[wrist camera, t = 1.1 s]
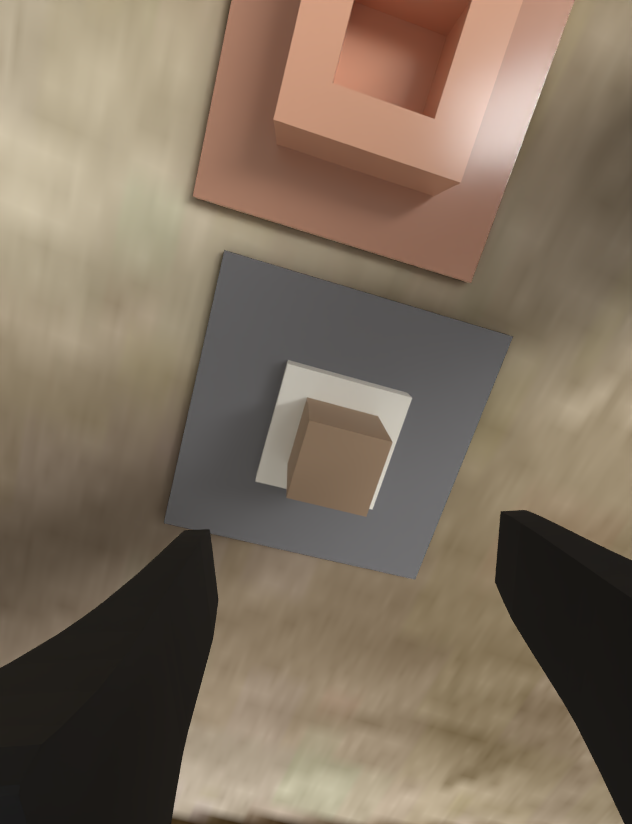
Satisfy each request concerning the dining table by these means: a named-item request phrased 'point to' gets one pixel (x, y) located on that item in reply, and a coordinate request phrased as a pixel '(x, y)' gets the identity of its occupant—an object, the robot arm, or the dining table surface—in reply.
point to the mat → (343, 354)
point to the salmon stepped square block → (377, 119)
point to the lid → (331, 438)
